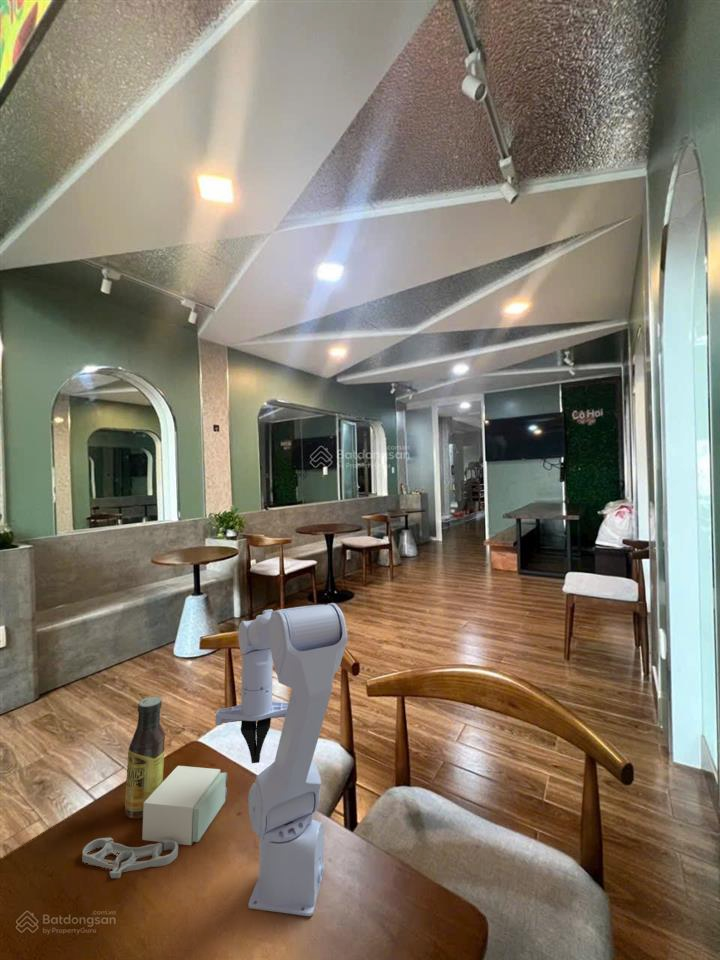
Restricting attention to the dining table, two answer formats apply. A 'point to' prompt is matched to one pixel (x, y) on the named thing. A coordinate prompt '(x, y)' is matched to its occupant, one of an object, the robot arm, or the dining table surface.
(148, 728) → the sauce bottle
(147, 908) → the dining table surface
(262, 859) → the robot arm
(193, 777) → the cabinet
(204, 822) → the cabinet door
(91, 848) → the bracket
